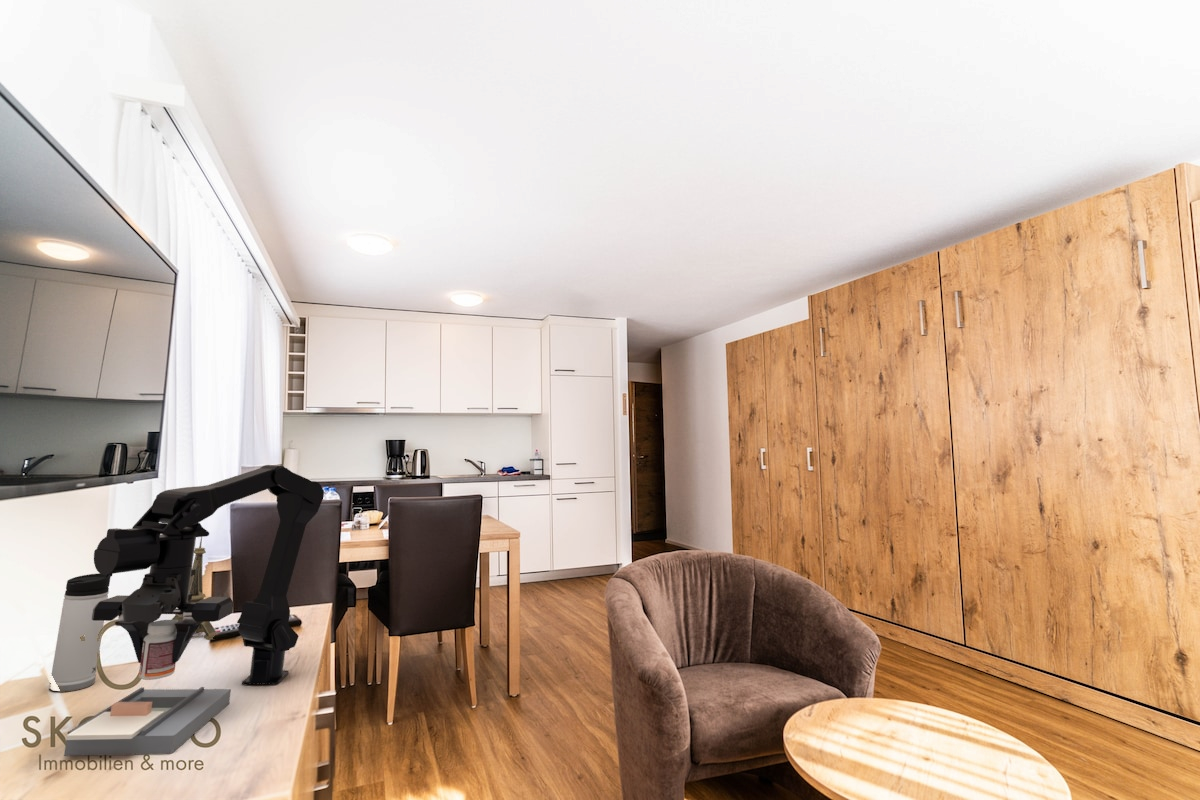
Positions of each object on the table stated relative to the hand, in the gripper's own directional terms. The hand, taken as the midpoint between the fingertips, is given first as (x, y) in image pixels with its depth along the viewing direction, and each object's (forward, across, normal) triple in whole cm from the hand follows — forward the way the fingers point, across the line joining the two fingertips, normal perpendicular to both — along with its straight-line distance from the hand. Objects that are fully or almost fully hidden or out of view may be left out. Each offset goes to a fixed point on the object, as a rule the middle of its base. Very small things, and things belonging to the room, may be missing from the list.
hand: (158, 662), depth 95 cm
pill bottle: (+2, 0, 0) cm, 2 cm away
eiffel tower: (+10, -18, +47) cm, 51 cm away
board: (+9, +2, -2) cm, 10 cm away
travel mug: (+10, -22, +16) cm, 28 cm away
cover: (+6, 0, -9) cm, 11 cm away
